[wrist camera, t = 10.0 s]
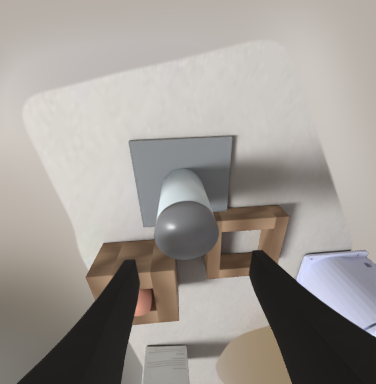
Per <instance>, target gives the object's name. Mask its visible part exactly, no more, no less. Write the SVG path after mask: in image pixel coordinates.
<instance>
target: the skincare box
mask: <svg viewBox="0 0 376 384" xmlns="http://www.w3.org/2000/svg"><path fill="white" fill-rule="evenodd" d="M142 384H189V371H188V359H187V347H186V345H182V346H158V347H146V348H145V354H144V365H143V375H142Z"/></svg>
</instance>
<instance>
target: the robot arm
mask: <svg viewBox="0 0 376 384" xmlns="http://www.w3.org/2000/svg"><path fill="white" fill-rule="evenodd" d="M367 255H368V252H367V251H366V250H360V251H346V252H333V253H320V254H308V255H305V256H304V259H303V262H302V264H301V267H300V270H299V273H298V276H297V279H296V280H295V279H294V278H293V277H292V276H290V275H289V274H288V273H287V272H286V271H285V270H284V269H282V268H281V267H280V266H279V265H278V264H277V263H276V262H275V261H274V260H273V259H272V258H271V257H269V256H268V255H267V254H266V253H265V252H264V251H263V250H255V251H253V252H252V258H251V263H250V269H249V276H250V280H251V283H252V286H253V289H254V291H255V294H256V296H257V298H258V300H259V303H260V305H261V307H262V309H263V311H264V313H265V316H266V318H267V320H268V322H269V324H270V327H271V329H272V331H273V333H274V336H275V338H276V340H277V343H278V345H279V348H280V351H281V353H282V356H283V359H284V362H285V365H286V368H287V370H288V373H289V376H290V379H291V382H292V384H376V264H374V263H373V262H372V261H371V260H369V259H368V258H367ZM139 287H140V279H139V275H138V270H137V266H136V261H135V259H129V260H124V261H123V263H122V264H121V266H120V267H119V269H118V270H117V272H116V273H115V275H114V276H113V277H112V279H111V280H110V282H109V283H108V284H107V286H106V287H105V289H104V290H103V291H102V293H101V294H100V295H99V297H98V298H97V299H96V300H95V302H94V303H93V304H92V306H91V307H90V308H89V309H88V310H87V312H86V313H85V314H84V315H83V317H82V318H81V319H80V320H79V321H78V322H77V323H76V325H75V326H74V327H73V328H72V329H71V330H70V331H69V332H68V333H67V335H66V336H65V337H64V338H63V339H62V340H61V341H60V342H59V343H58V344H57V345H56V346H55V347H54V348H53V349H52V350H51V351H50V352H49V353H48V354H47V355H46V356H45V357H44V358H43V359H42V360H41V361H40V362H39V363H38V364H37V365H36V366H35V367H34V368H33V369H32V370H31V371H29V373H27V374H26V375H25V376H24V377H23V378H22V379H21V380H20V381H19V382H18V383H17V384H121V379H122V372H123V366H124V359H125V354H126V349H127V344H128V340H129V336H130V332H131V327H132V323H133V319H134V315H135V311H136V306H137V302H138V295H139Z"/></svg>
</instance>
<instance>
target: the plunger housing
mask: <svg viewBox="0 0 376 384" xmlns="http://www.w3.org/2000/svg"><path fill="white" fill-rule="evenodd" d="M129 259H135V261H136V266H137V270H138V275H139V279H140V287H139V289H151V288H153V294H152V302H151V309H150V311H149V312H148V313H147V314H145V315H142V316H134V319H133V323H132V325H139V324H149V323H160V322H171V321H179V296H178V276H177V264H176V259H174V258H172V257H169V256H167V255H166V254H164V253H163V252H162V251H161V250H160V249H159V248H158V246H157V245H156V242H155V240H144V241H130V242H116V243H103V245H102V247H101V249H100V251H99V253H98V255H97V257H96V259H95V261H94V262H93V264H92V266H91V268H90V270H89V272H88V274H87V276H86V279H87V282H88V284H89V287H90V289H91V291H92V294H93V296H94V299H95V300H96V299H97V298H98V297H99V295H100V294H101V293H102V291H103V290H104V289H105V287H106V286H107V284H108V283H109V282H110V280H111V279H112V277H113V276H114V275H115V273H116V272H117V270H118V269H119V267H120V266H121V264H122V263H123V261H124V260H129Z"/></svg>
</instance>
